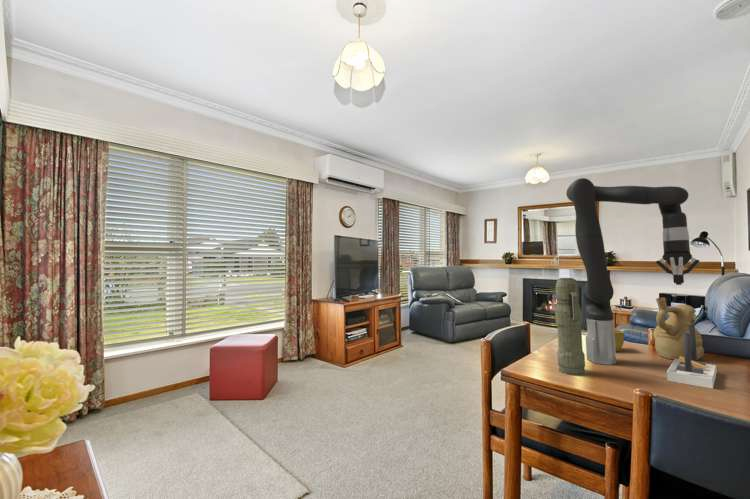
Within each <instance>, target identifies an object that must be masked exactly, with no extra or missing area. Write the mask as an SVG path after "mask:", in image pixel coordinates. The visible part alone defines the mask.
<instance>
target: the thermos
mask: <svg viewBox="0 0 750 499" xmlns="http://www.w3.org/2000/svg"><path fill="white" fill-rule="evenodd" d="M579 293H580V292H579V284H578V283H577V280H576V279H575V278H574V277H564V278H563V277H561V278H558V279H557V280H556V283H555V299H556V306H555V308H554V309H555V310H554V314H555V326H557V340H558V341H557V344H558V351H557V353H556V354H557V364H558V371H559V372H560V371H561V372H560V373H562V374H564V373H566V374H565V375H569V376H582V375H585V374H586V370H585V368H586V358H585V353H584V351H583V335H582V327H583V313H582V312H583V311H582V309H581V306H580V302H579V300H580V294H579Z"/></svg>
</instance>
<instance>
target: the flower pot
mask: <svg viewBox="0 0 750 499" xmlns="http://www.w3.org/2000/svg"><path fill="white" fill-rule="evenodd" d="M614 335H615V350H616V352H619V351H620V350H621V349H622V348H623V345H624V341H625V332H624V331H621V330H619V329H617V328H614Z"/></svg>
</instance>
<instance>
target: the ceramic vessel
mask: <svg viewBox="0 0 750 499" xmlns="http://www.w3.org/2000/svg"><path fill="white" fill-rule="evenodd" d="M655 300H656V303H657V308H658V310H657V313H656V316H655V317H656V318H655V319H656V324H657V325H656V326H655V328H654V329H653V333H652V337H653V339H654V347H655V351H656V353H657V355H659V357H661V358H665V359H668V360H669V359H670V360H673V361H674V360H675V359H679V357H680V356H682V357H684V345H683V333H684V332H687V333H689V325H694V324H695V322H696V320H697V319H696V318H697V314H695V313H696V312H697V311H696V309H695V308H694V307H693V306H692V305H689V304H678V305H677V304H676V305H674V306H672V305H671V306H668V304H667V300H666V298H665V297H657V298H655ZM667 314H668V318H667V319H666V320H665V317H666V315H667ZM695 337H696V351H697V360H699V359H701V358H702V357H703V355H704V353H705V348H704V347H703V338H702V335H701V333H700V331H699V329H697V328H696V327H695ZM689 338H690V337H689ZM690 352H691V350H690ZM692 361H694V360H692Z"/></svg>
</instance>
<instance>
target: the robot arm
mask: <svg viewBox="0 0 750 499" xmlns="http://www.w3.org/2000/svg"><path fill="white" fill-rule="evenodd" d="M566 197H567V198H568V200H569V201H571V203H573V206H574V211H575V232H574V233H575V239H576V245H577V250H578V254H579V256H580V258H581V261H582V263H583V266H584V269H585V271H586V273H585V274H586V283H585V284H584V287H583V300H584V301H583V302H584V304H583V305H584V311H585V315H586V316H585V317H586V329H587V333H586V334H587V335H586V336H585V350H586V360H588V361H589V362H591V363H593V364H598V365H599V364H601V365H616V364H617V353H616V352H617V351H616V350H615V335H614V329H615V325H614V324H615V322H614V321H615V320H614V313H613V311H612V306H611V300H612V299H613V298H614V297H613V296H614V293H615V292H614V286H613V285H612V281H611V278H610V275H609V271H608V266H607V257H606V249H605V243H604V237H603V233H602V228H601V224H600V220H599V216H598V212H597V202H599V203H600V202H605V203H606V202H609V203H620V204H621V203H623V204H633V205H652V204H653V205H654V204H655V205H656V204H657V205H658V208H659V212H660V215H661V217H662V221H661V222H662V246H663V255H662V257H661V258H660V259H659V260H657V261H655V262H656V264H657V265H658V266H659V267H660V268H661V269H662V270H663V271H664V272H666V274H670V275H672V278H673V283H674V284H675V285H676V286H682V284H684V282H685V278H684V276H685V274H689V273H690V272H691V271H692V270H694V268H695V267H697V266H698V264H700V261H701V260H700V259H696V258H695V257H693V255H692V253H691V248H690V234H689V229H688V218H687V215H686V213H685V212H683V211H682V207H681V205H683V204H684V203H685V202H687V201H688V199H689V192H688V190H687V189H686V188H683V187H681V186H675V185H674V186H672V185H671V186H669V185H668V186H640V185H619V186H598V185H594V183H593V182H592V181H591V180H589V178H585V177H583V178H582V177H580V178H577V179H575V180H574V181H573V182H572V183H570V185H569V186H568V188H567V189H566ZM666 263H667V264H668V265H670V266H671V269H670V267H668V266H667V265H666ZM688 263H690V265H689V266H688V267H687V268H686V269H685V266H686V265H687V264H688Z"/></svg>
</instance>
